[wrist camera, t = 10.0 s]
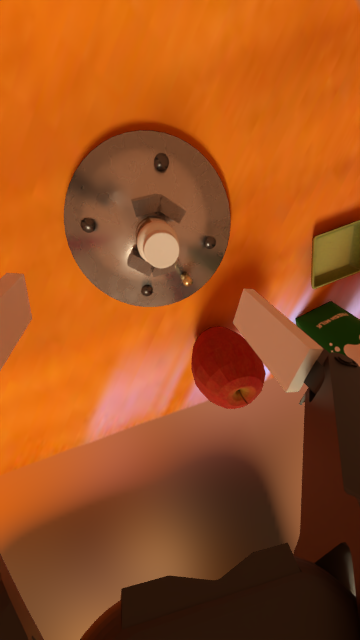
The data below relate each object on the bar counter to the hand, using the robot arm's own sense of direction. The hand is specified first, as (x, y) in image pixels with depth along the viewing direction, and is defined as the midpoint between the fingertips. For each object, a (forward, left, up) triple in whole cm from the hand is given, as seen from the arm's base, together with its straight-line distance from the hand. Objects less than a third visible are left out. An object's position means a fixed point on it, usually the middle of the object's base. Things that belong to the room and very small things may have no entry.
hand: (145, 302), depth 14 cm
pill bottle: (-1, +2, -17) cm, 17 cm away
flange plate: (-1, +2, -17) cm, 18 cm away
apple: (+15, +14, -18) cm, 27 cm away
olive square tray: (-2, +30, -18) cm, 35 cm away
